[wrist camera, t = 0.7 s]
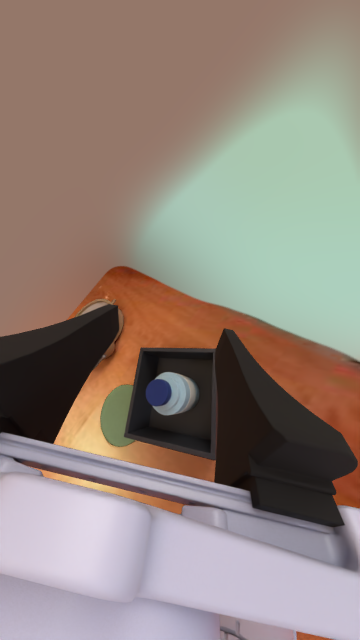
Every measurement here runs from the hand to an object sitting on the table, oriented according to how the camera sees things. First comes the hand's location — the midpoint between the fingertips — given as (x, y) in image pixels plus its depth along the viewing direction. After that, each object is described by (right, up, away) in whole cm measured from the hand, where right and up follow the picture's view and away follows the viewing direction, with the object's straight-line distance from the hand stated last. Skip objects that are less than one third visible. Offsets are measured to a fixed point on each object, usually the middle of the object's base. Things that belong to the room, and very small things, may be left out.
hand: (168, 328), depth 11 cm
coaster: (-8, -14, +16) cm, 23 cm away
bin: (+1, -10, +13) cm, 17 cm away
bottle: (+1, -10, +13) cm, 17 cm away
